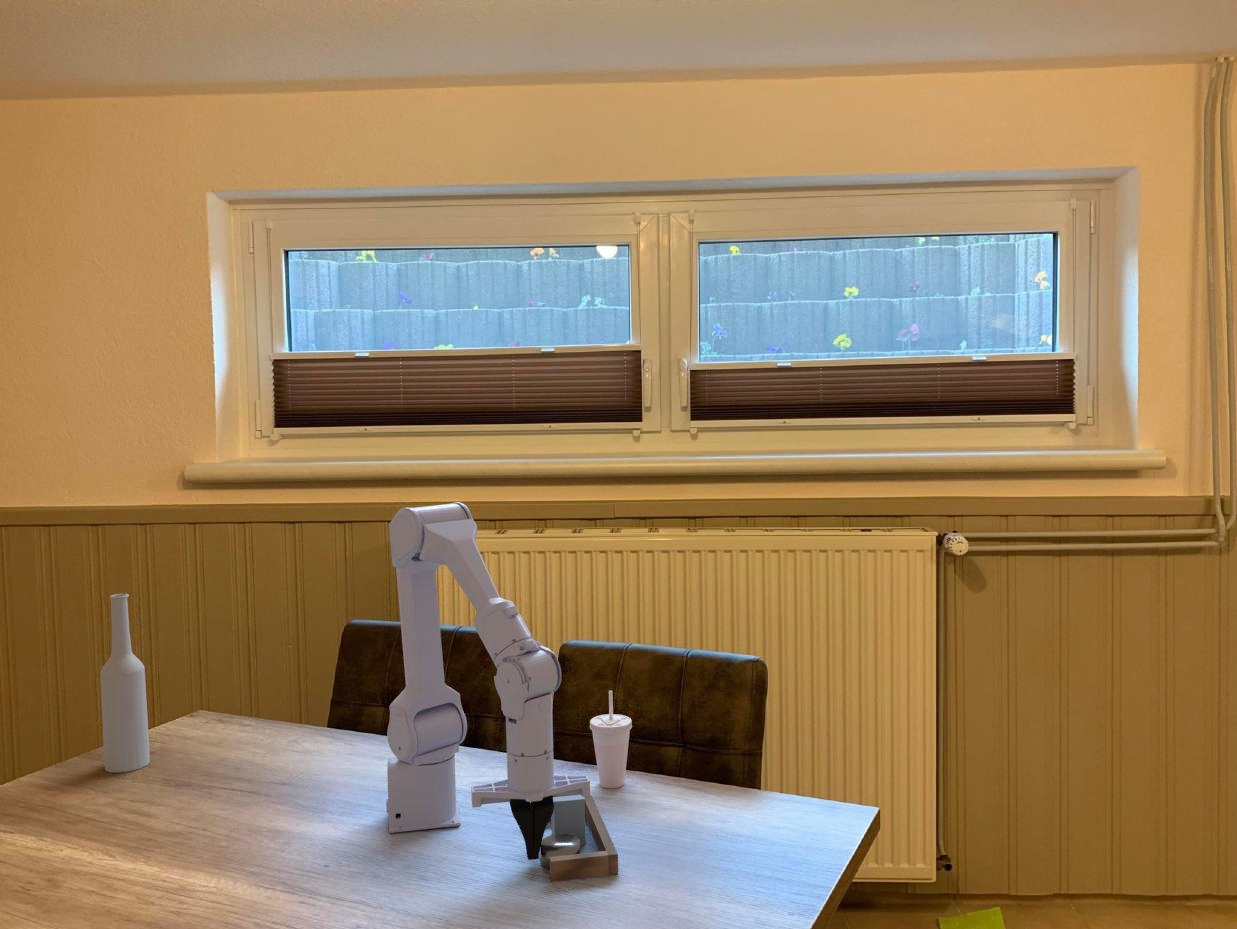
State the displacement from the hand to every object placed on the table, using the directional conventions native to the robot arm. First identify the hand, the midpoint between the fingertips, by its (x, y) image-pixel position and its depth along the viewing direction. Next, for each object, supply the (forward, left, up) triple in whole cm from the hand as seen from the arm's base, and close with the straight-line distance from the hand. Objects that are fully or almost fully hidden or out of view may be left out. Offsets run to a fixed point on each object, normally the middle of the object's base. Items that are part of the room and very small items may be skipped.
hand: (532, 856), depth 121 cm
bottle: (-60, +51, -1) cm, 79 cm away
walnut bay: (+6, +5, -1) cm, 7 cm away
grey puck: (+3, 0, -1) cm, 4 cm away
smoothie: (+15, +24, -1) cm, 28 cm away
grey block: (+5, +7, -1) cm, 9 cm away
